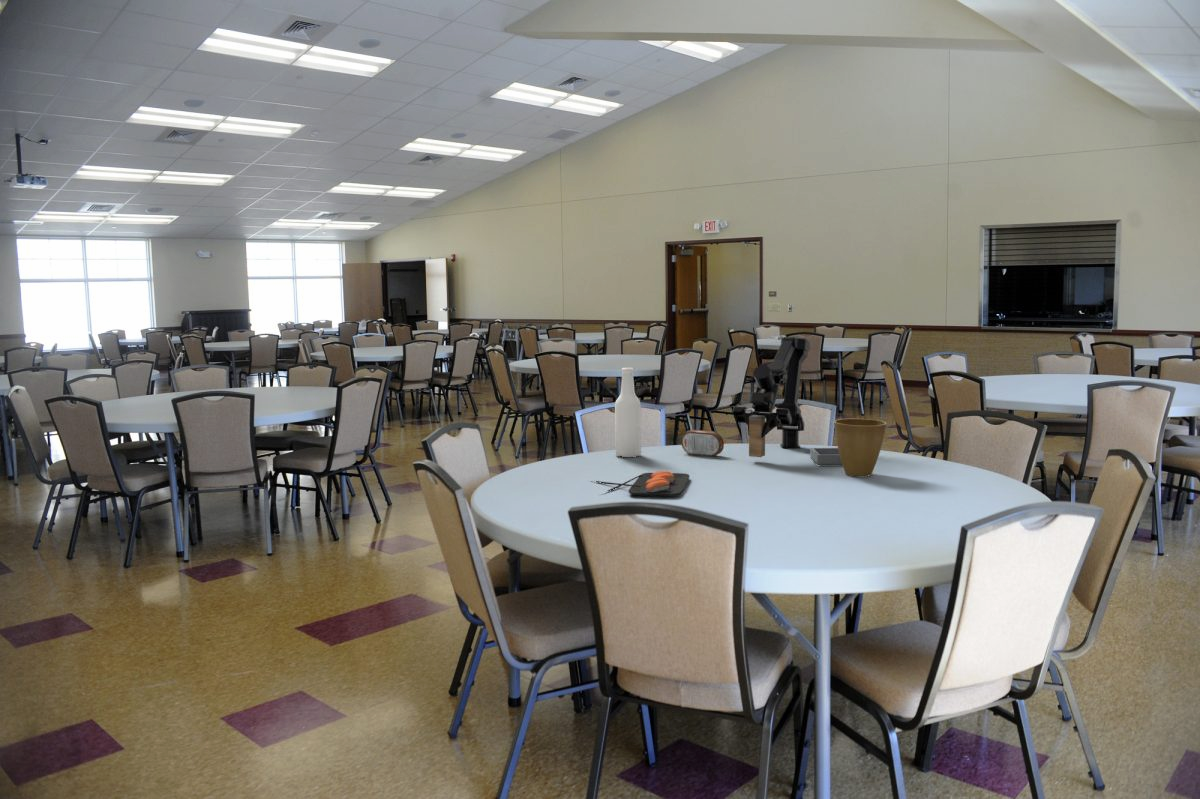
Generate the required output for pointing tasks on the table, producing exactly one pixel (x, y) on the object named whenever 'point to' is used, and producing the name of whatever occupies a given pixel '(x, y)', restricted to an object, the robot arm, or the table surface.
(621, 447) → the alcohol
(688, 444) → the tin
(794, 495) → the table surface
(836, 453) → the box
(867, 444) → the plant pot
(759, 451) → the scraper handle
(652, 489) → the sushi plate
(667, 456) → the table surface
